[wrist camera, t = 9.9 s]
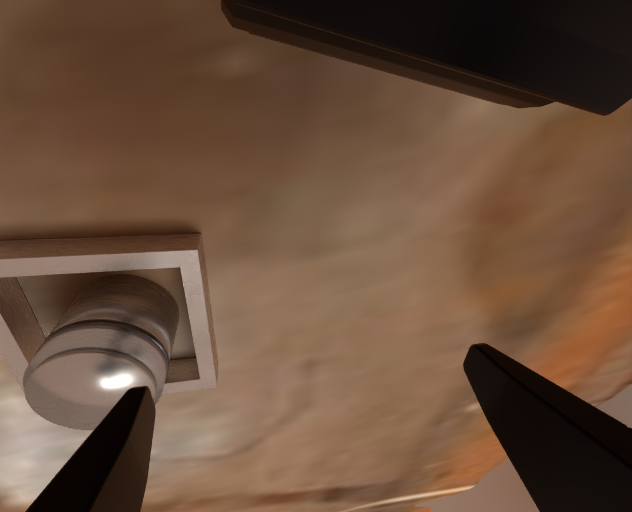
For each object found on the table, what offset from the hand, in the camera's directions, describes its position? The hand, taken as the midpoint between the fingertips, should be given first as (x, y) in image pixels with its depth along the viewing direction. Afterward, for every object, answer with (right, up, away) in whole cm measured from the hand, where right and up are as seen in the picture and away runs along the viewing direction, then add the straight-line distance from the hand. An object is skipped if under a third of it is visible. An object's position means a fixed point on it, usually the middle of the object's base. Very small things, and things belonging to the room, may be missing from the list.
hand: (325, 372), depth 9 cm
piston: (-12, -1, +12) cm, 17 cm away
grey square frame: (-13, -1, +12) cm, 17 cm away
